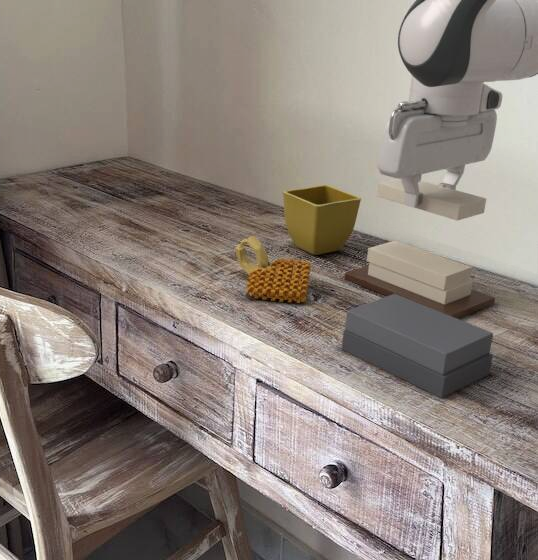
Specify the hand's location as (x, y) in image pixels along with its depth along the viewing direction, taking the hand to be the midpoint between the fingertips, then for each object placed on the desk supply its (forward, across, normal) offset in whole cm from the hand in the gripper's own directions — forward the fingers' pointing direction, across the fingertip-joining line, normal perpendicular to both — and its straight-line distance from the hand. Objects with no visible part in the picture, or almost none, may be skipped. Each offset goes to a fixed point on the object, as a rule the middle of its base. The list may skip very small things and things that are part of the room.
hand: (429, 201), depth 109 cm
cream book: (0, 0, 0) cm, 0 cm away
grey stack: (+13, -18, -13) cm, 26 cm away
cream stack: (+13, 0, 0) cm, 13 cm away
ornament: (+13, -16, +13) cm, 24 cm away
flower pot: (+13, +1, +20) cm, 24 cm away
